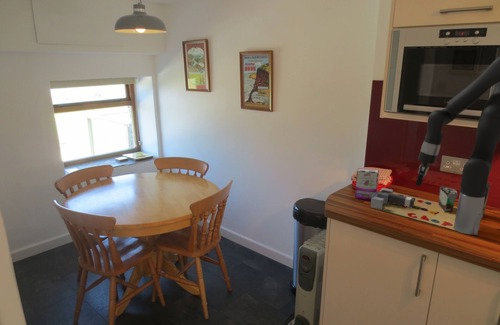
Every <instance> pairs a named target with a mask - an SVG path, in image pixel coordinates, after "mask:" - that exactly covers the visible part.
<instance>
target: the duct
mask: <svg viewBox="0 0 500 325" xmlns="http://www.w3.org/2000/svg"><path fill="white" fill-rule="evenodd" d="M383 192H386V193H391V194H394V190H393V189H391V188H390V189H389V188H386V187H382V188H381V189H380V190H379V191H378V190H377V191H376V192H375V193H374V194H373V195H372V196H371V200H370V208H374V209H378V210H382V209H383V208H384V205H387V204H388V195H389V194H386V193H383Z"/></svg>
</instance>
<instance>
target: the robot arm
mask: <svg viewBox="0 0 500 325" xmlns="http://www.w3.org/2000/svg"><path fill="white" fill-rule="evenodd" d="M491 87H494V89H493V92H492V94H491V95H490V96H489V98H488V100H487V101H486V102H485V104H484V106H483V108H482V110H481V113H480V115H479V118H478V123H477V128H476V134H475V135H476V136H475V138H476V139H475V144H474V147H473V149H472V152H471V154H470V157H469V158H468V160H467V162H466V163H465V164H464V165H463V169H462V173H461V178H460V186H459V187H460V190H459V195H458V201H457V206H456V207H457V208H456V212H455V217H454V224H453V229H454V230H455V231H457V232H459V233H462V234H465V235H470V236H471V235H475V236H478V234H479V230H480V225H481V224H480V223H481V220H482V219H481V215H482V209H483V204H484V199H485V195H486V186H487V183H488V181H489V175H490V173H491V171H492V166H493V160H494V154H495V151H496V148H497V145H498V143H499V142H500V55H498V57H496V59H494V60H493V61H492V62H491V64H490V65H489V66H487V68H486V69H485V70H484V71H483V72H482V73H481V74H480V75H479V76H478V77H477V78H476V79H474V80H473V81H472V82H471V83H470V84H468V85H467V86H466V87H465V88H463V89H462V90H461V91H460V92H459V93H458V94H456V95H454V96H453V97H452V98H451V99H450V100H449V101H448V102H447V105H446V106H445V107H444V108H442V109H435V110H433V111H431V113H429V115H428V117H427V123H426V134H425V138H424V139H423V143H422V145H421V148H420V150H419V155H418V157H417V160H418V161H420V162H421V163H420V164H419V167H418V171H417V173H418V174H417V176H416V182H415V186H417V187H421V186H422V183H423V181H424V178H425V176H426V175H427V173H428V171H429V169H430V165H431V164H432V165H433V164H436V162H437V158H438V155H439V153H440V149H441V145H442V142H443V139H444V132H443V131H442V129H443V126H446V125H449V124H450V123H451V122H454V120H455V119H456V118H457V117H458V116H459V115H460V114H461V113H462V112H464V111H466V110H467V109H468V108H469V107H470V106H472V105H473V104H474V103H476V102H477V101H478V100H479V99H480V98H481V97H482V96H483V95H484V93H486V92H487V91H489V89H490V88H491Z"/></svg>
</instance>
